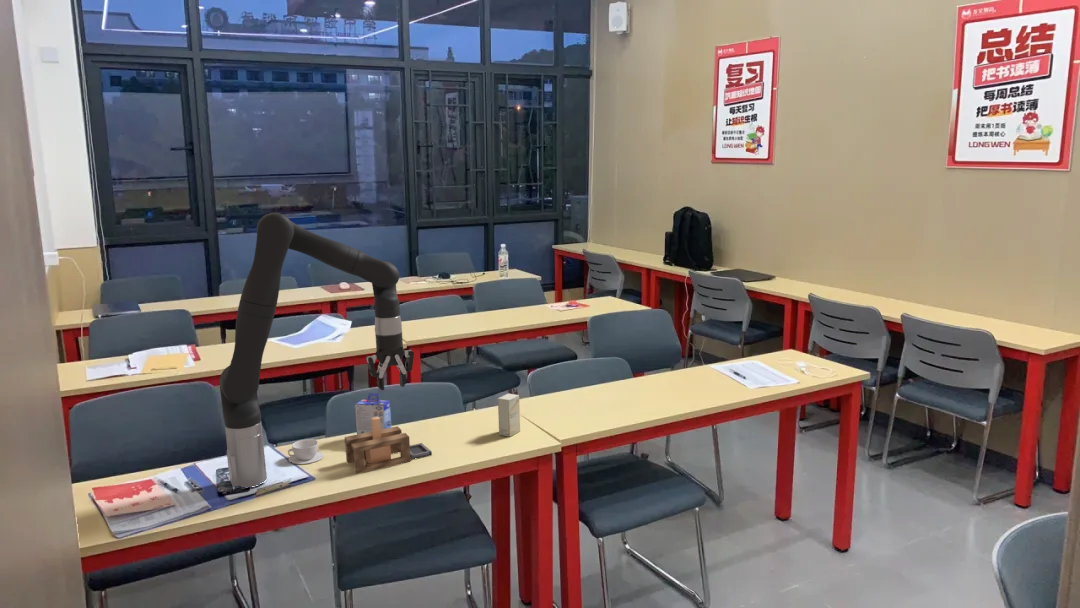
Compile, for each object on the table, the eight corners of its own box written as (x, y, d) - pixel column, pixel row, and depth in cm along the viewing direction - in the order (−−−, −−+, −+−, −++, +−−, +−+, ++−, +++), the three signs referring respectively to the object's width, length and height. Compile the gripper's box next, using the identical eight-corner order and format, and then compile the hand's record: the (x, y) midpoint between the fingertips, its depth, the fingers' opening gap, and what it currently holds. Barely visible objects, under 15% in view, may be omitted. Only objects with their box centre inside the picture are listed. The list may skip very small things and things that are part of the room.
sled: (371, 465, 220) (368, 422, 218) (365, 460, 224) (362, 417, 222) (391, 461, 223) (388, 418, 220) (385, 455, 227) (382, 413, 225)
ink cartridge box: (393, 436, 244) (390, 392, 241) (386, 442, 238) (383, 398, 235) (364, 434, 246) (361, 391, 243) (356, 441, 240) (353, 397, 237)
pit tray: (412, 459, 225) (412, 455, 224) (403, 450, 232) (402, 447, 231) (431, 455, 228) (431, 451, 227) (421, 446, 234) (421, 442, 234)
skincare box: (510, 437, 240) (508, 400, 238) (498, 435, 243) (497, 398, 240) (520, 431, 246) (519, 394, 243) (509, 428, 248) (508, 392, 246)
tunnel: (356, 473, 216) (354, 447, 214) (346, 461, 224) (344, 437, 223) (410, 461, 223) (409, 436, 222) (398, 450, 232) (397, 426, 230)
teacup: (319, 449, 234) (318, 435, 233) (327, 460, 226) (326, 445, 225) (285, 456, 230) (284, 441, 229) (292, 468, 221) (291, 452, 220)
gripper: (368, 337, 212) (372, 395, 216) (417, 330, 219) (420, 387, 223) (360, 332, 219) (364, 389, 222) (407, 325, 226) (411, 380, 229)
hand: (392, 387), depth 222 cm, fingers open, 5 cm apart
